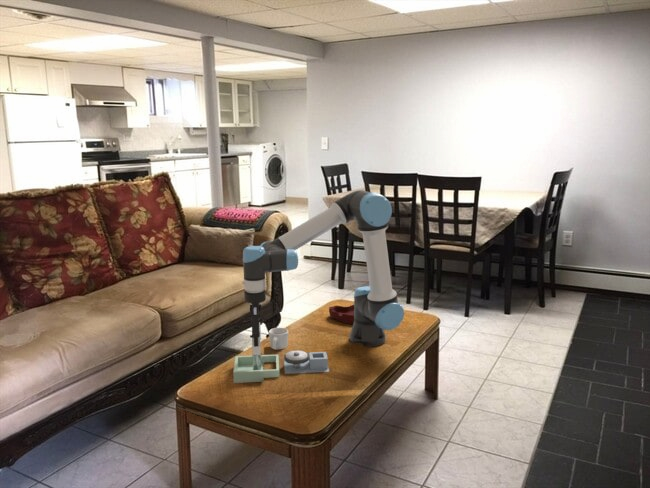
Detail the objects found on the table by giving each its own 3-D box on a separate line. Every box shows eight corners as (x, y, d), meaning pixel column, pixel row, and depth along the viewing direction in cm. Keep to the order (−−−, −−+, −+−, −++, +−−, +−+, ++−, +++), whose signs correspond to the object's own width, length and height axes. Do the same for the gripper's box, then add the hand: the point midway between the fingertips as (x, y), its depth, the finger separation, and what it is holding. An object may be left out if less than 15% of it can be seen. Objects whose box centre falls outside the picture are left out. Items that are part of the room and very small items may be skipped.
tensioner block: (326, 362, 205) (326, 346, 204) (329, 375, 195) (329, 358, 193) (283, 364, 204) (283, 348, 202) (284, 377, 193) (284, 359, 192)
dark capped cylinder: (261, 368, 198) (260, 330, 195) (261, 372, 195) (260, 333, 192) (252, 369, 197) (251, 330, 194) (252, 372, 194) (251, 334, 192)
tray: (278, 364, 204) (278, 354, 203) (279, 380, 190) (279, 370, 190) (235, 366, 202) (235, 356, 202) (233, 382, 189) (233, 372, 188)
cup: (283, 357, 211) (283, 337, 209) (264, 355, 212) (263, 336, 211) (291, 346, 221) (290, 328, 219) (272, 345, 223) (272, 326, 221)
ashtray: (334, 327, 244) (334, 316, 243) (327, 315, 260) (327, 305, 259) (372, 324, 248) (372, 314, 247) (363, 313, 263) (363, 303, 262)
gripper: (245, 280, 202) (247, 334, 206) (242, 301, 178) (245, 361, 182) (265, 280, 203) (267, 333, 207) (265, 300, 178) (267, 360, 183)
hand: (256, 346), depth 194 cm, fingers open, 13 cm apart
